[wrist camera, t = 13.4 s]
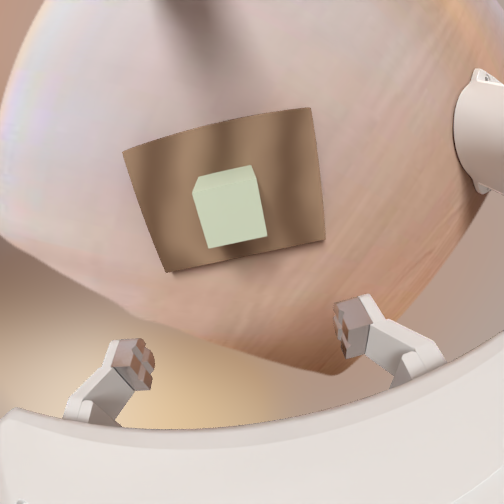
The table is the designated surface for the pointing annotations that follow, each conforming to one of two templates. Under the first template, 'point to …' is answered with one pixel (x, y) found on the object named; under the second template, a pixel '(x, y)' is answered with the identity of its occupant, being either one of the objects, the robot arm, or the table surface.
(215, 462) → the robot arm
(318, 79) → the table surface
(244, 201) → the cube
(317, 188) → the serving board
